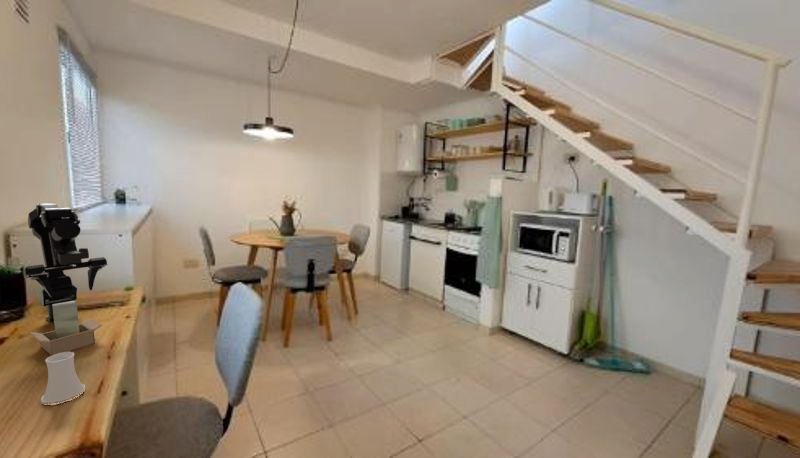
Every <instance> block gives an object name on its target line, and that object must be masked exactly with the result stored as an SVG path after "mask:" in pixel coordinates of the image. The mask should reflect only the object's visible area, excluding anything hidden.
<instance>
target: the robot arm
mask: <svg viewBox="0 0 800 458" xmlns="http://www.w3.org/2000/svg"><path fill="white" fill-rule="evenodd" d="M27 223H28V228H29V230H30V229H31V232H32V233H31V234H32V235H33V236H34V237H36V238H37V239H38V240H39V241H40V244H41V245H40V246H41V252H42V256H43V261H44V264H35V265H27V266H25V268H23V270H22V271H23V278H24V279H29V278H30V280H31V281H36V282H37V283H38V284H39V285H40V286H42V289H41V290H40V304H41V305H42V307H47V310H48V316H47V317H45V320H47V322H48V323H51V324H53V323H54V316H53V306H52V304H57V303H63V302H69V301H75V302H76V300H77V299H78V296H77V295H78V287H76V286H75V284H74V283H73V281H72V278H71V277H70V276H69V275H67V274H66V273H65V272H64V271H70V270H77V269H83V268H85V269H86V268H88V270H87V280H88V288H89V291H92V290H93V287H94V282H95V279H96V276H97V274H98V271H100V270H102V269H103V268H105V267H106V266H108V261H107V259H106V257H103V256H102V257H94V258H90V254H89V249H88V247H82V248H78V247H77V244H76V238H77V237H78V236H79V235H80V234H81V227H80V224H81V220H80V218H79V216H78V214H77V213H76V212H75V211H74V210H72V208H71V207H59V206H58V205H57V203H54V202H52V203H49V202H47V203H39V204H38V203H37V204H36V205H35V208H34V209H33V210H31V211H30V212H29V213H28V217H27ZM89 258H90V259H89ZM83 259H84V260H85V259H88V260H87V261H82V260H83Z"/></svg>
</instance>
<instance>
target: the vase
mask: <svg viewBox="0 0 800 458" xmlns="http://www.w3.org/2000/svg"><path fill="white" fill-rule="evenodd" d="M44 361H45V363H46V366H47V374H48V375H47V378H48V379H47V385H46V388H45V391H44V394H42V396H41V398H40V401H41V405H42V404H47V405H48V403H49V404H51V403H58V402H59V403H60V402H63V401H65V402H66V400H69V399H71V398H72V399H73V398H74V397H75V396H78V394H79V395H80V393H82V392H83V391H84V389H86V385H85V384H84V383H82V382H81V380H80V378H79V377H78V375H77V372H76V368H75V352H74V351H72V352H71V351H67V352H63V353H58V354H55V355H52V356H51V355H50V356H48V357H46V359H45V360H44ZM75 398H76V397H75Z"/></svg>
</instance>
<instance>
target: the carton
mask: <svg viewBox="0 0 800 458" xmlns="http://www.w3.org/2000/svg"><path fill="white" fill-rule="evenodd" d="M101 327H102V324H101V323H99V322H98V321H96V320H94V319H93V318H91V317H88V318H87V319H85V320H84V321H82V322H81V323H79V333H76V334H73V335H69V336H65V337H61V338H58V339H56V335H55V329H54V330H52V331H47V332H43V333H41V332H33V331H30V332H29V333H30V334H31V335H32V336H33V338H35V339H36V340H37V341H38V342H39V343H40V346H41V348H42V349H43V350H44V351H46V352H47V353H48V354H49V355H50V356H52V355H55V354H58V353H63V352H71V351H73V350H74V351H75V350H76V349H77V350H78V349H80V348H83V347H86V346H90V345H94V344H95V343H96V341H95V331H97V329H99V328H101Z"/></svg>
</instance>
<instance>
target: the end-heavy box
mask: <svg viewBox="0 0 800 458" xmlns="http://www.w3.org/2000/svg"><path fill="white" fill-rule="evenodd" d="M52 306H53V316H54V322H53V323H54V324H53V325H54V330H55V335H56V339H58V338H61V337H65V336H69V335H73V334H76V333H79V324H80V323H79V322H80V321H79V315H78V314H79V312H78V304H77V302H76V300H75V301H69V302H63V303H57V304H52Z"/></svg>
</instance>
